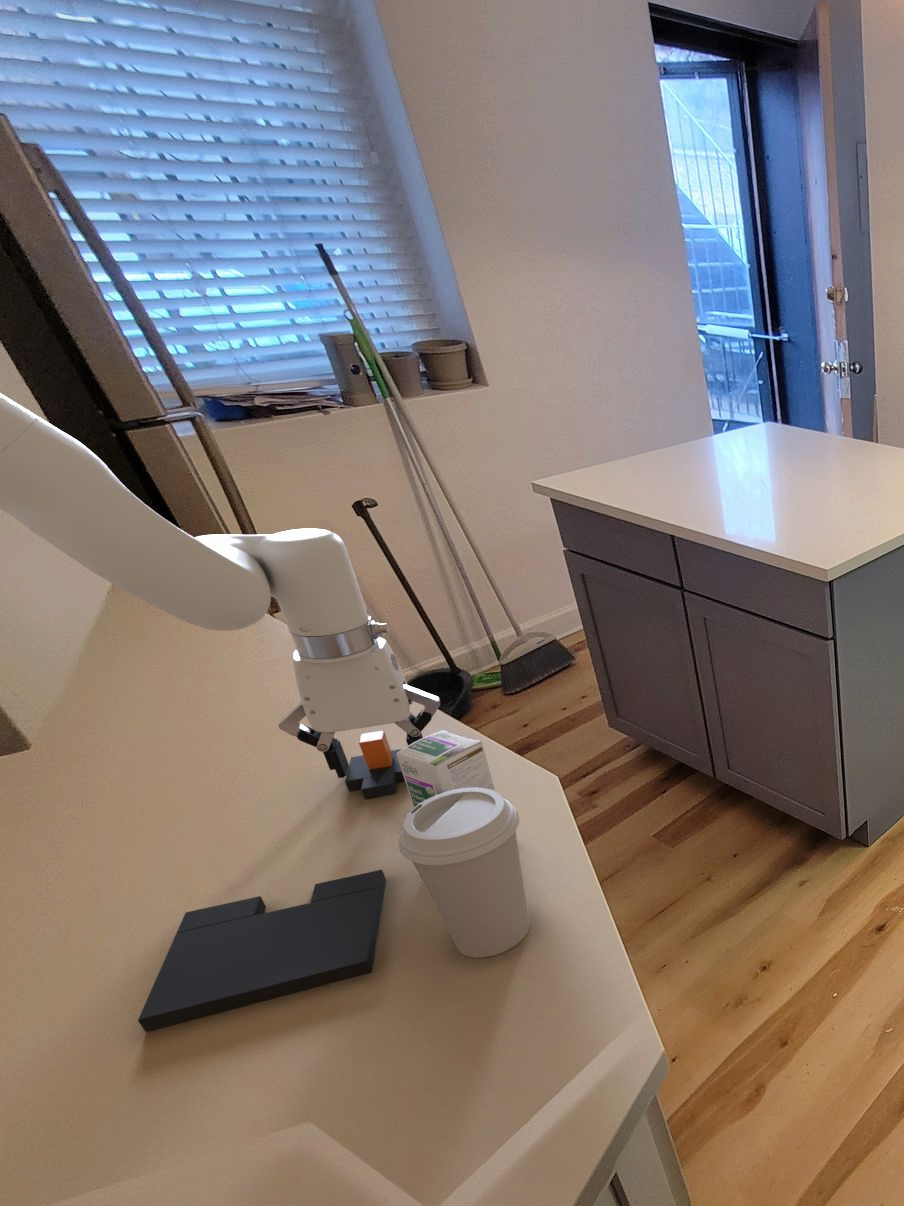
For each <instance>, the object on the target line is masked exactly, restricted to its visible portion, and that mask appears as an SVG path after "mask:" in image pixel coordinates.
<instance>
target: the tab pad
mask: <svg viewBox="0 0 904 1206" xmlns="http://www.w3.org/2000/svg"><path fill="white" fill-rule="evenodd" d="M358 744H359V747H360V750H361V752H362V755H356V756H352V757H350V761H349V763H348V764H349V767H348V770H347V774H346V776H345V780H344V783H345V787H346V789H347V791H348V792H353V791H357V790H360V791H361V793H362V796H363V799H364V800H369V799H373V798H379V797H385V796H391V795H395V794H396V793H397V789H398V783H401V782H405V779H404V776H403V773H402V770H401V767H400V764H399V761H398V758H397V755H396V753H397V752H399V751H400V750H402V749H403V748H400V749H393V750H392V749H391V747H390V744H389V741H388V739H387V735H386V732H385V730H378V731H371V732H363V733H361V734H360V738H359V742H358Z"/></svg>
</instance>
